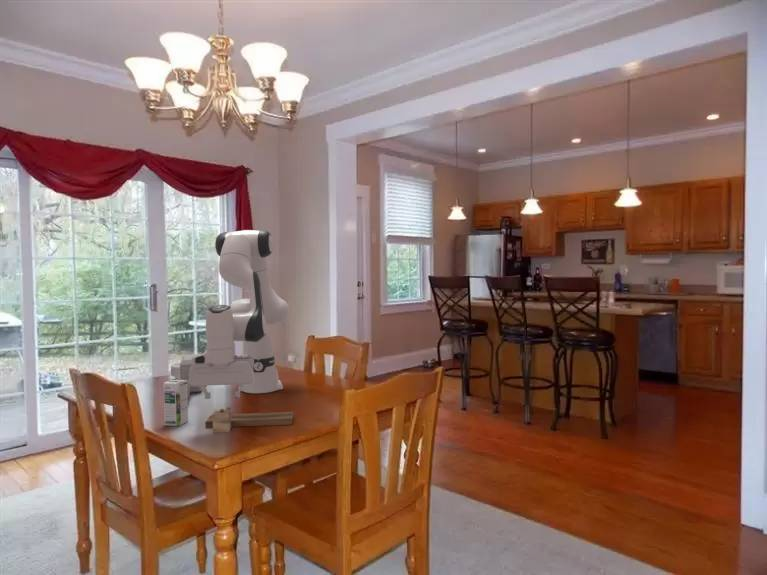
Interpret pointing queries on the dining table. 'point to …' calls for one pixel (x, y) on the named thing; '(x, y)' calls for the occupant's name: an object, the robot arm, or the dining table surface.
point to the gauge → (222, 420)
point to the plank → (257, 419)
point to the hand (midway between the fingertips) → (222, 397)
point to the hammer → (184, 373)
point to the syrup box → (175, 402)
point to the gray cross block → (176, 371)
